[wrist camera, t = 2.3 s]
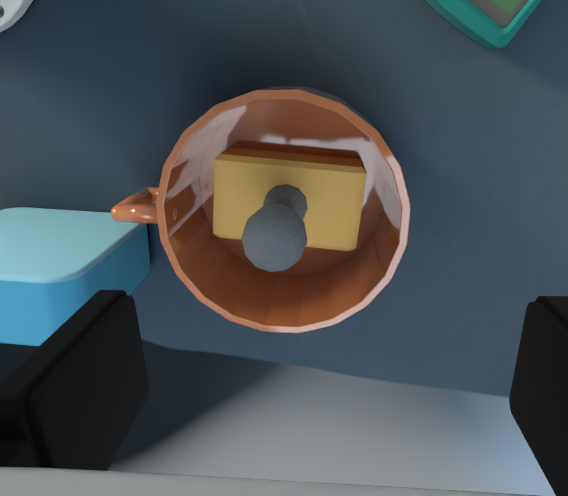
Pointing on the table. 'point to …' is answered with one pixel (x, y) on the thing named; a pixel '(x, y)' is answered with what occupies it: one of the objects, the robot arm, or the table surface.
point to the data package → (62, 266)
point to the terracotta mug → (315, 261)
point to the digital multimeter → (486, 18)
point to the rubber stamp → (286, 203)
